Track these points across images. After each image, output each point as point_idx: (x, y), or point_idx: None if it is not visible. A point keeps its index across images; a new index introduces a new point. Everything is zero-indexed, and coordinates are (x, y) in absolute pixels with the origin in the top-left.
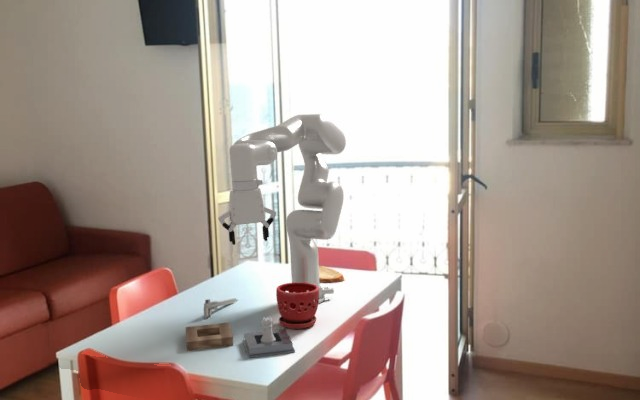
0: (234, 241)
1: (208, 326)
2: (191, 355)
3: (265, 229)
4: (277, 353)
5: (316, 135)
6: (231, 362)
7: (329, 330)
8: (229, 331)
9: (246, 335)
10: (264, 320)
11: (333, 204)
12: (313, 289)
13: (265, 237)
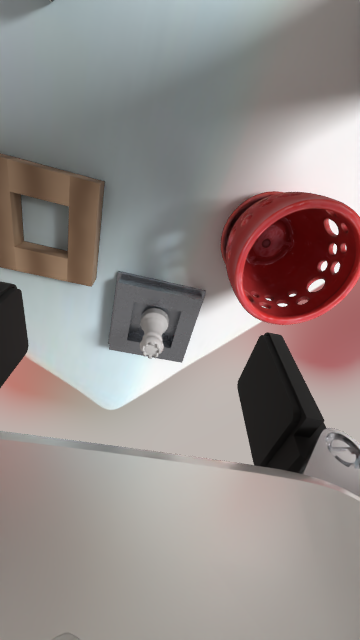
0: (11, 366)
1: (42, 184)
2: None
3: (263, 465)
4: None
5: None
6: (80, 343)
7: None
8: (90, 252)
9: (120, 293)
10: (143, 353)
11: None
12: (352, 254)
13: (244, 405)
